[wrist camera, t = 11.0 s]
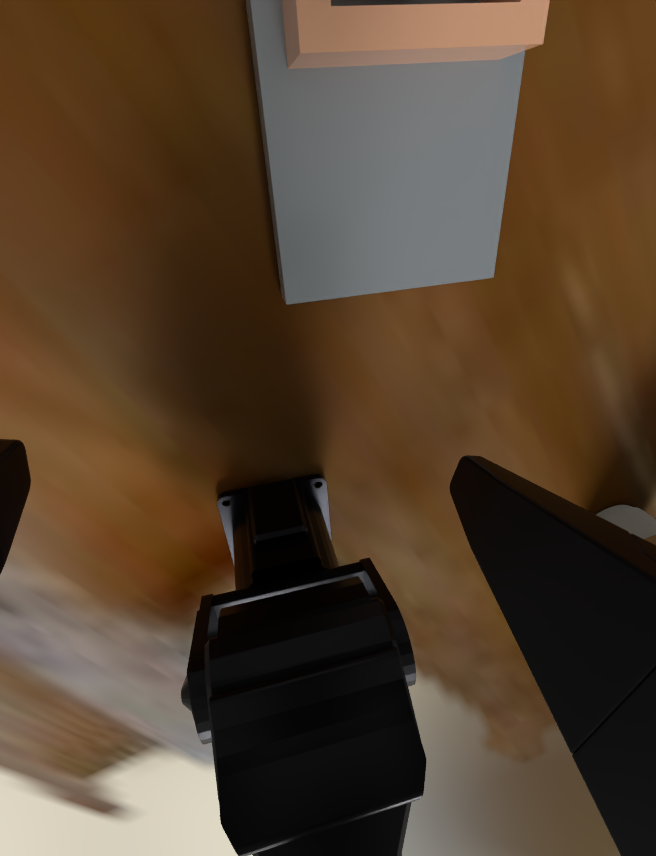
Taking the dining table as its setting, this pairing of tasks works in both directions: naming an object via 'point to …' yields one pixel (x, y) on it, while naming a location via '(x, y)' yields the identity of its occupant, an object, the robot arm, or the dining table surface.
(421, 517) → the dining table surface
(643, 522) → the coffee cup
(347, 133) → the candle stand
